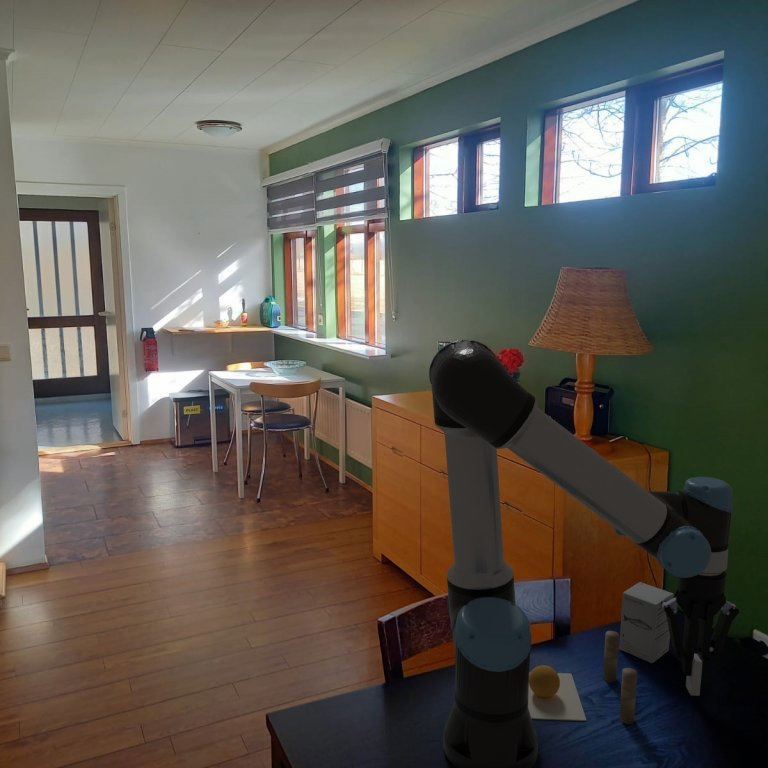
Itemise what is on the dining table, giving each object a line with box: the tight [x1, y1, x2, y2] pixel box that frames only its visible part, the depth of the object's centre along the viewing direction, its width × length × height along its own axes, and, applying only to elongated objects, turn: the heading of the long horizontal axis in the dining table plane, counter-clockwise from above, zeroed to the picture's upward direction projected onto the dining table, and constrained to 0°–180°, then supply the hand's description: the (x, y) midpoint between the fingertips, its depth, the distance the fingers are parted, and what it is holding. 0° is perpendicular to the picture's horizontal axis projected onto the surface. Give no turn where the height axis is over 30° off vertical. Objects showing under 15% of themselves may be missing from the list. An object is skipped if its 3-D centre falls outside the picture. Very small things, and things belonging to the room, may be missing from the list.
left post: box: [602, 630, 620, 683], centre depth 138 cm, size 2×2×9 cm
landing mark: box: [528, 671, 587, 722], centre depth 134 cm, size 14×14×1 cm
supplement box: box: [618, 581, 675, 664], centre depth 148 cm, size 7×7×13 cm
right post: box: [619, 667, 638, 725], centre depth 126 cm, size 2×2×9 cm
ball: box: [529, 664, 560, 698], centre depth 134 cm, size 6×6×6 cm
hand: (692, 690), depth 132 cm, fingers closed
